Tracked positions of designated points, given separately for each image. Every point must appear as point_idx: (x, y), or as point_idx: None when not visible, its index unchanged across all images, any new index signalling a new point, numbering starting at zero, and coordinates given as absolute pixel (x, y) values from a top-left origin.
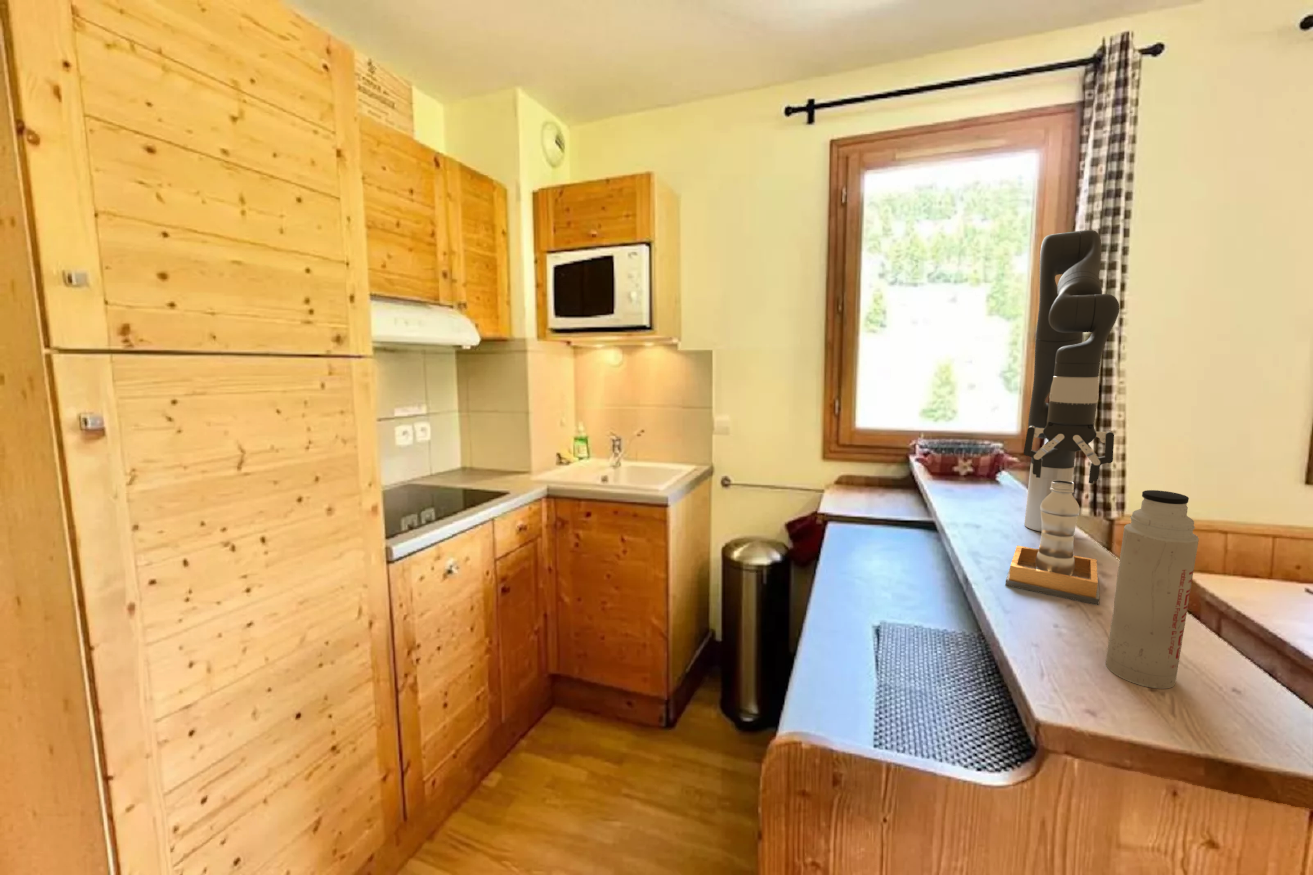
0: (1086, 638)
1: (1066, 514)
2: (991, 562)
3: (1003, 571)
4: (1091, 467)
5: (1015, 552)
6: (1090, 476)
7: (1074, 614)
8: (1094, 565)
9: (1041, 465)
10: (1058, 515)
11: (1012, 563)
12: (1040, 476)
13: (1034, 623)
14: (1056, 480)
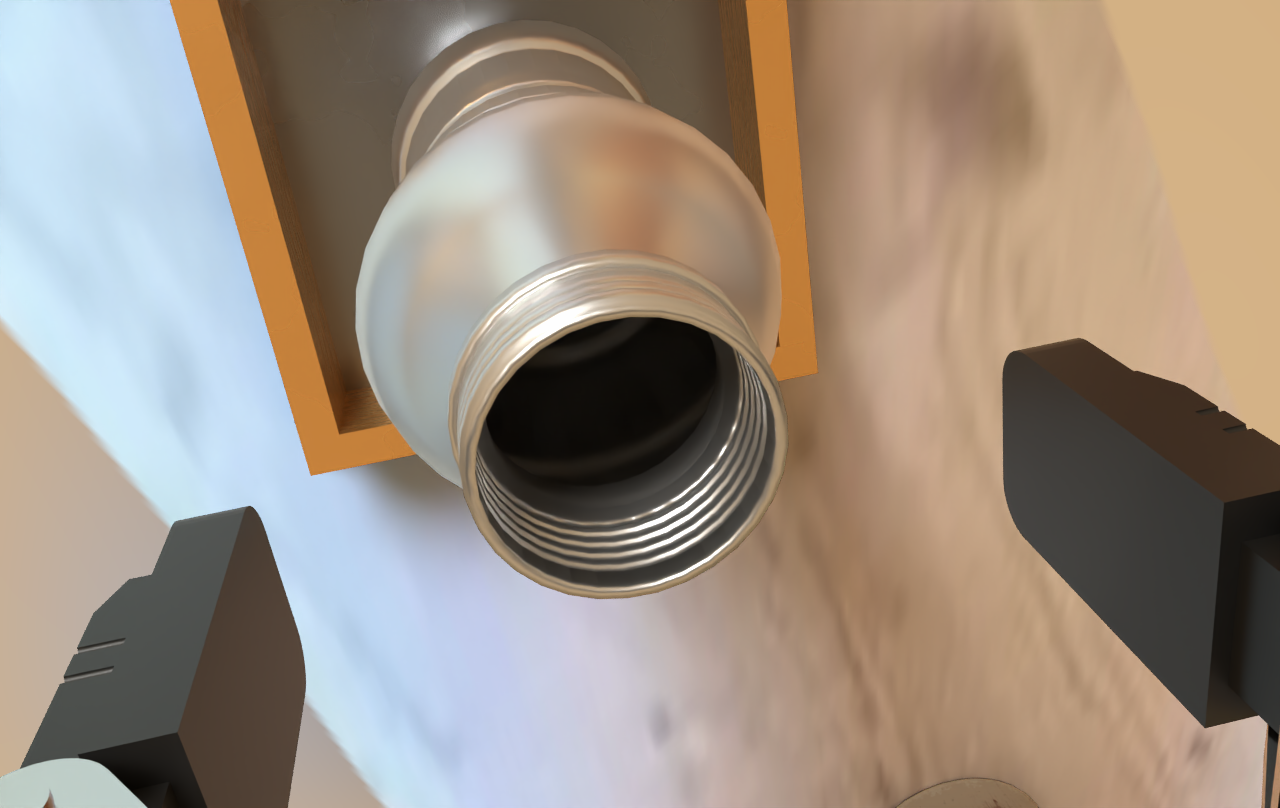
0: (782, 742)
1: (668, 449)
2: (37, 39)
3: (196, 181)
4: (1188, 686)
5: (217, 140)
6: (1083, 577)
7: None
8: (771, 5)
9: (252, 758)
10: (593, 462)
11: (303, 421)
12: (262, 525)
13: (583, 769)
14: (510, 377)
